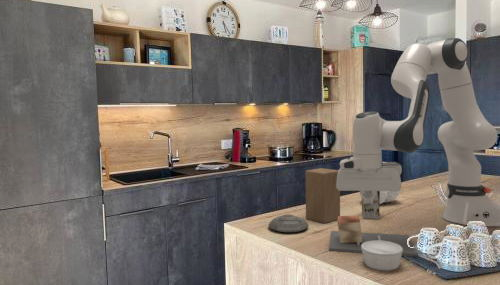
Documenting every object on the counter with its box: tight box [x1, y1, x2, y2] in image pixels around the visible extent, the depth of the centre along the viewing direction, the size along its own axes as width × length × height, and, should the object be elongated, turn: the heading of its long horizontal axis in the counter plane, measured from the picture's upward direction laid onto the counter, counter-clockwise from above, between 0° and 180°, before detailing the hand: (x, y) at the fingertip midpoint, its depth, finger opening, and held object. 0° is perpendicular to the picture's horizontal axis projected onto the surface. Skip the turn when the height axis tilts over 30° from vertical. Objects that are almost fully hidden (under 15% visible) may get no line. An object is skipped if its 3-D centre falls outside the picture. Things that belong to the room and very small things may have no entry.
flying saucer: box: [267, 214, 309, 233], centre depth 144 cm, size 15×15×6 cm
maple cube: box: [337, 214, 362, 243], centre depth 127 cm, size 7×7×7 cm
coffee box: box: [361, 191, 380, 220], centre depth 158 cm, size 9×6×16 cm
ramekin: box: [361, 240, 403, 272], centre depth 108 cm, size 11×11×5 cm
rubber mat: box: [328, 230, 419, 258], centre depth 126 cm, size 26×18×1 cm
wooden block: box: [305, 167, 341, 224], centre depth 155 cm, size 10×10×20 cm
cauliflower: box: [359, 189, 401, 205], centre depth 181 cm, size 20×18×16 cm
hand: (368, 203), depth 125 cm, fingers closed
